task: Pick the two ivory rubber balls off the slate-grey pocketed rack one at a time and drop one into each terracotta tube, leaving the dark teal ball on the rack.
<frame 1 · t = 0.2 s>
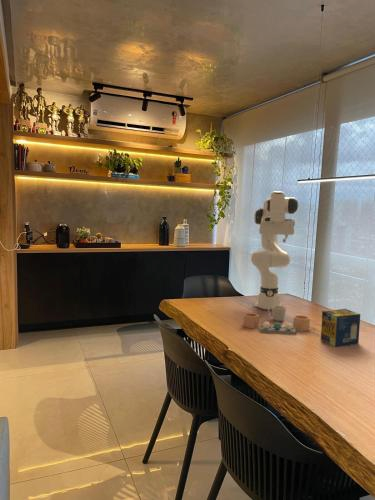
hand: (276, 242, 221), 48 cm above the table, fingers open, 8 cm apart
tube a: (250, 326, 213), on the table
tube b: (301, 328, 210), on the table
protein box: (339, 342, 189), on the table
cup: (276, 320, 227), on the table
rack: (277, 331, 204), on the table
ball a: (266, 325, 205), point 3 cm above the table, touching rack
ball c: (288, 326, 203), point 3 cm above the table, touching rack
ball b: (277, 325, 204), point 3 cm above the table, touching rack
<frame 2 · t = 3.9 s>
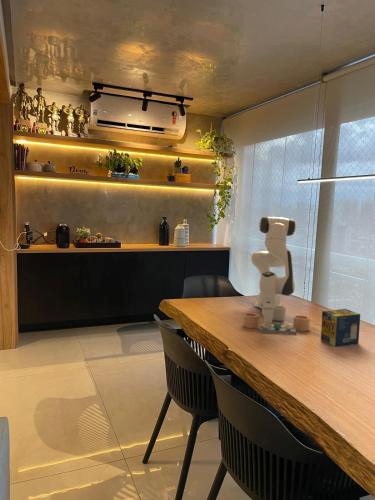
hand: (266, 326, 205), 2 cm above the table, fingers closed on ball a, 4 cm apart
ball a: (266, 325, 205), point 3 cm above the table, touching gripper, rack
everything else where it was.
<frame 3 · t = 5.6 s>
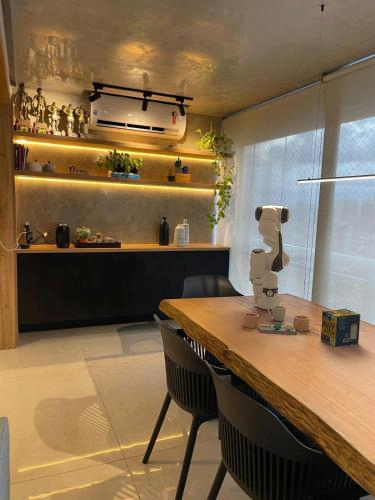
hand: (256, 302, 210), 14 cm above the table, fingers closed on ball a, 4 cm apart
ball a: (256, 301, 210), point 15 cm above the table, touching gripper
everything else where it was.
when the fingers open (9 cm above the table, at t = 7.1 s): ball a drops 7 cm, resting on tube a.
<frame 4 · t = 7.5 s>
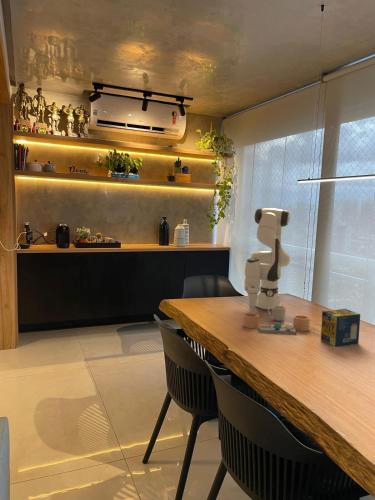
hand: (251, 310, 212), 9 cm above the table, fingers open, 8 cm apart
ball a: (251, 321, 213), point 3 cm above the table, touching tube a
everything else where it was.
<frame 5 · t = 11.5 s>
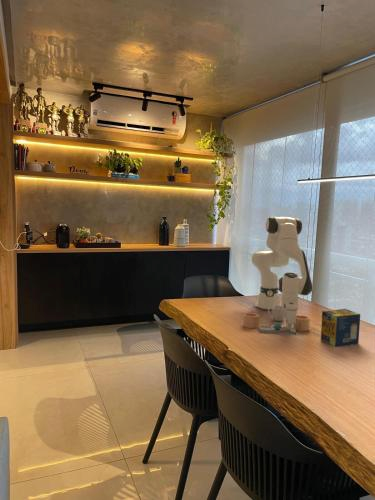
hand: (288, 327, 203), 2 cm above the table, fingers closed on ball c, 4 cm apart
ball a: (250, 322, 211), point 3 cm above the table, tilted 38°, touching tube a
ball c: (288, 326, 203), point 3 cm above the table, touching gripper, rack
everything else where it was.
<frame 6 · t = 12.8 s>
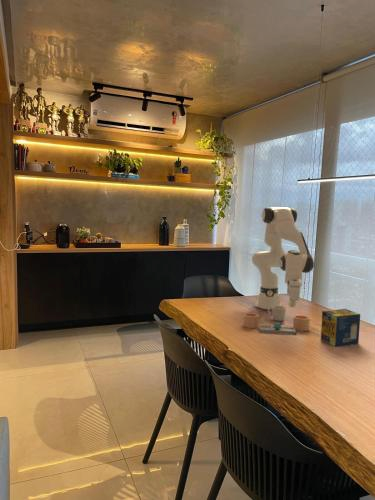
hand: (292, 305, 204), 15 cm above the table, fingers closed on ball c, 4 cm apart
ball c: (292, 303, 204), point 15 cm above the table, touching gripper
everything else where it was.
when the fingers open (9 cm above the table, at t = 14.5 s): ball c drops 7 cm, resting on tube b.
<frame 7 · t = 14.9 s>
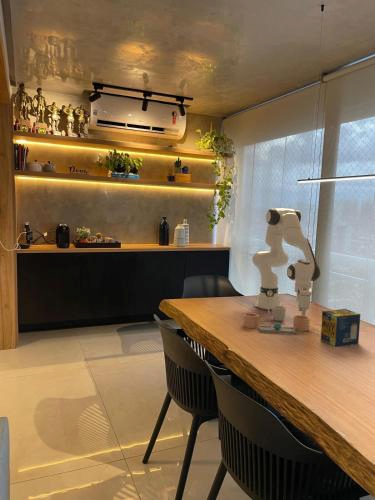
hand: (301, 313, 209), 9 cm above the table, fingers open, 8 cm apart
ball c: (301, 324, 209), point 3 cm above the table, touching tube b
everything else where it was.
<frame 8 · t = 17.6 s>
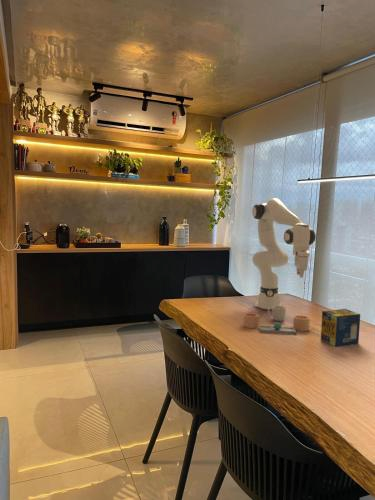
hand: (299, 275, 213), 29 cm above the table, fingers open, 8 cm apart
ball c: (301, 324, 208), point 3 cm above the table, tilted 31°, touching tube b
everything else where it was.
at the end: ball a 0.9 cm off-centre on the tube a, point 2.6 cm above the tube a's base; ball c 1.1 cm off-centre on the tube b, point 2.6 cm above the tube b's base; ball b moved 0.1 cm from its start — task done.
